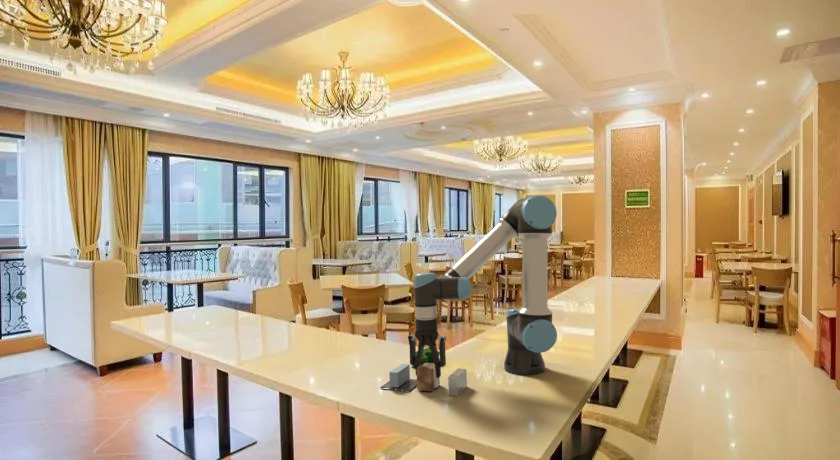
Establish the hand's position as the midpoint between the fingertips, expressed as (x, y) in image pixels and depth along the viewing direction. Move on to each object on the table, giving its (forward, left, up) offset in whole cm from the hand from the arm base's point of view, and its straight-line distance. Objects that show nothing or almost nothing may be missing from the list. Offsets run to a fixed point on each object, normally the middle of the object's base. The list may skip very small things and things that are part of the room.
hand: (428, 385), depth 155 cm
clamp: (+12, -25, -1) cm, 28 cm away
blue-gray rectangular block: (+11, 0, -1) cm, 11 cm away
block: (0, 0, 0) cm, 0 cm away
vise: (+3, 0, -1) cm, 3 cm away
